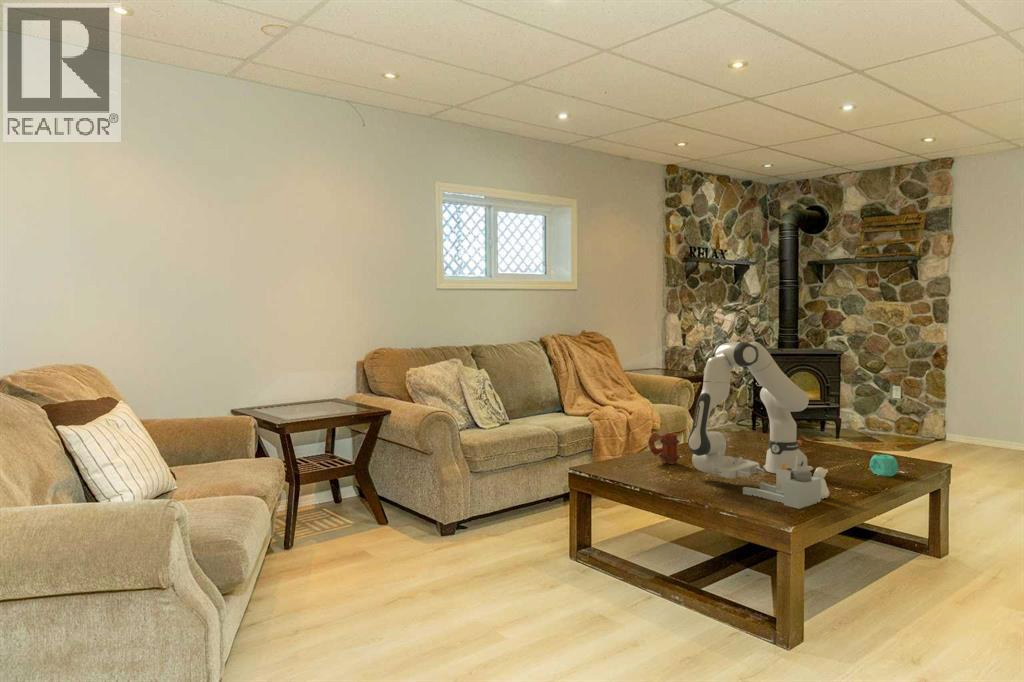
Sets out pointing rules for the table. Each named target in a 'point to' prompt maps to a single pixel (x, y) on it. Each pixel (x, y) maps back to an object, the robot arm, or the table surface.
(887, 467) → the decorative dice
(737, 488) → the table surface
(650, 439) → the mug
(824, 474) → the white creature statuette
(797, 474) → the bracket
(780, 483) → the block
